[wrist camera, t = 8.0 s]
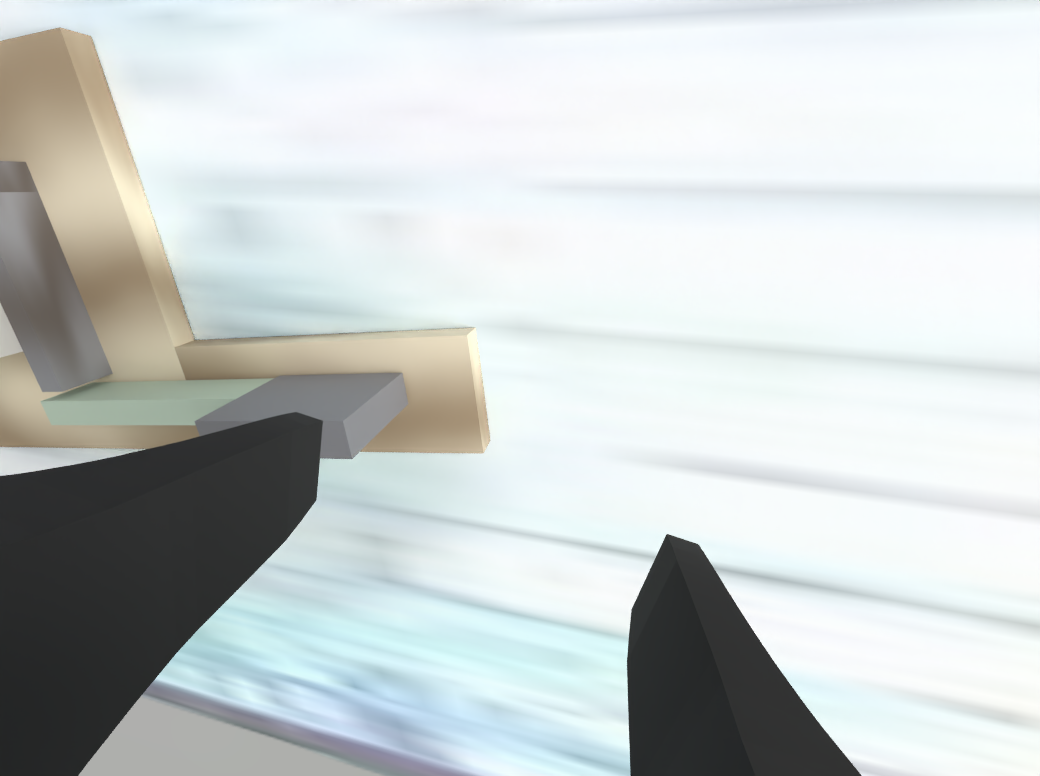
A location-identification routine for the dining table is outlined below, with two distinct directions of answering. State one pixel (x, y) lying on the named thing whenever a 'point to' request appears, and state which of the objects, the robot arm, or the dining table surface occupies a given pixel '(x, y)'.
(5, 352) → the white cube block
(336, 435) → the gate
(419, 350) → the beige board
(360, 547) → the dining table surface
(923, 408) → the dining table surface
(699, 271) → the dining table surface
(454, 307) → the dining table surface
